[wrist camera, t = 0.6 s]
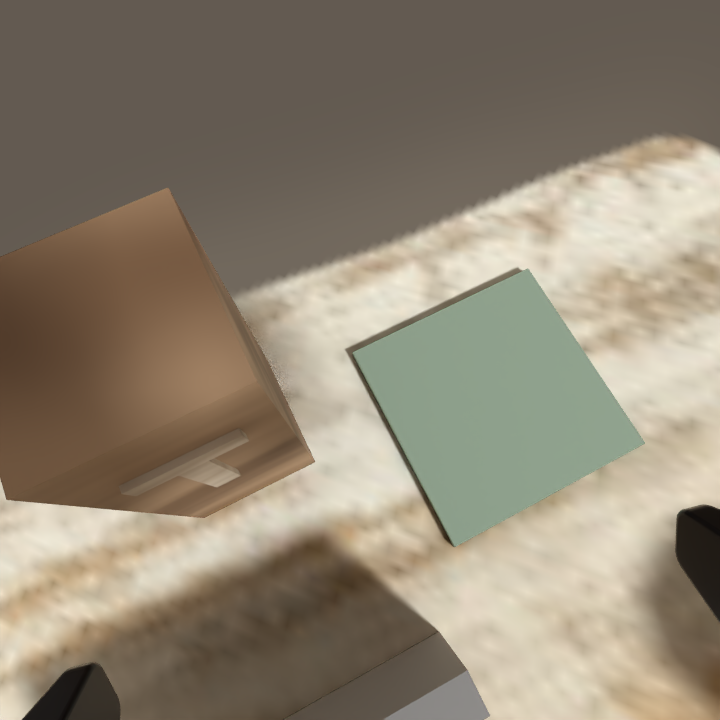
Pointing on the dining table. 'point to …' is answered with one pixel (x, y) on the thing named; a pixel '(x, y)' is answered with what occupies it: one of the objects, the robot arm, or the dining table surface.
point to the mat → (494, 405)
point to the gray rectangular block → (406, 690)
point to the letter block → (134, 373)
